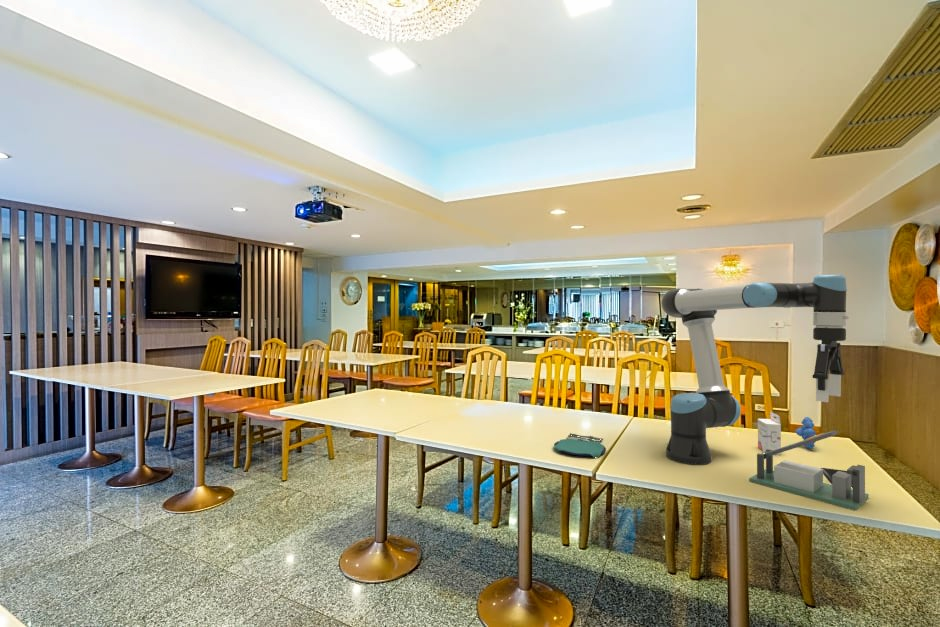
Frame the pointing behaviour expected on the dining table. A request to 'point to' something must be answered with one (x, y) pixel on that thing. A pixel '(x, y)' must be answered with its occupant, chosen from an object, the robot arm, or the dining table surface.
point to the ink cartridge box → (769, 433)
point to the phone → (830, 472)
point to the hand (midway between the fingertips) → (828, 398)
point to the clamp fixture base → (813, 482)
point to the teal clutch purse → (580, 446)
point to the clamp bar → (800, 443)
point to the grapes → (807, 431)
